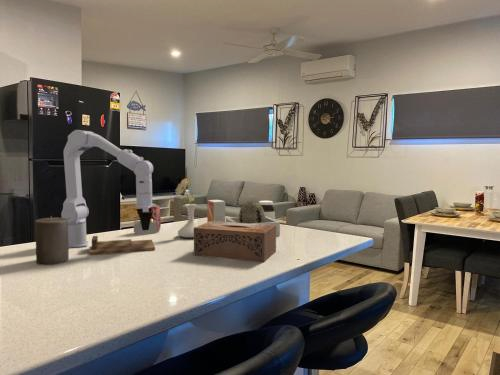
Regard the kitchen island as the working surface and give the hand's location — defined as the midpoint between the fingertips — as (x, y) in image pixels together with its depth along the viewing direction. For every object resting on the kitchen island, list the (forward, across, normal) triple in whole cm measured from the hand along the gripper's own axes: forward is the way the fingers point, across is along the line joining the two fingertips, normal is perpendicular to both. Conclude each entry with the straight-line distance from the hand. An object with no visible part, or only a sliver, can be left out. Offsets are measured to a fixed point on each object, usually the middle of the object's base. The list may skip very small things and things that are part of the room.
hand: (145, 228), depth 147 cm
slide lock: (+1, 0, 0) cm, 1 cm away
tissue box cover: (+8, -20, -30) cm, 37 cm away
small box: (+7, +30, -35) cm, 47 cm away
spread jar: (+7, +32, -59) cm, 67 cm away
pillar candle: (+7, -11, +30) cm, 33 cm away
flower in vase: (+7, +12, -19) cm, 24 cm away
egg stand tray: (+7, +12, -47) cm, 49 cm away
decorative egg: (+7, +12, -47) cm, 49 cm away
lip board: (+7, 0, +8) cm, 11 cm away
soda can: (+7, +28, -5) cm, 29 cm away
